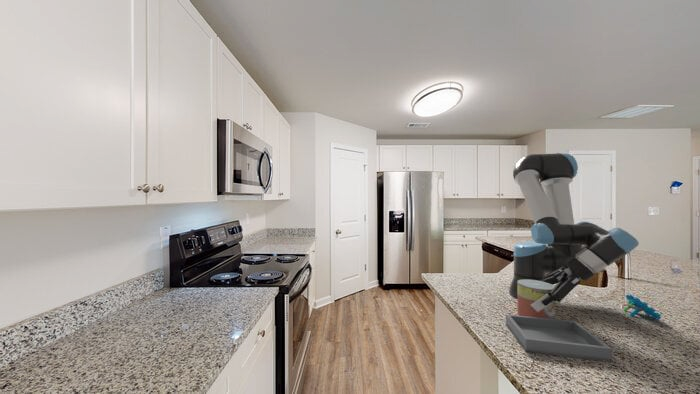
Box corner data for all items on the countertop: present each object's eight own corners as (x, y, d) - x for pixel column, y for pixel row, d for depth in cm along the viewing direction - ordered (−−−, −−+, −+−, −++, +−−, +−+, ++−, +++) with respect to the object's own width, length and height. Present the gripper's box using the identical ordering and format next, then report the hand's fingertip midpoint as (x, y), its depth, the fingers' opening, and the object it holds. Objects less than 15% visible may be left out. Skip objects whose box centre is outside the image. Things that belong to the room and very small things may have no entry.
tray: (505, 324, 89) (505, 314, 89) (575, 331, 84) (575, 321, 84) (525, 351, 73) (525, 339, 73) (612, 362, 68) (612, 348, 68)
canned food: (540, 327, 87) (540, 291, 87) (509, 313, 98) (509, 281, 98) (563, 321, 91) (563, 287, 91) (531, 308, 101) (531, 277, 102)
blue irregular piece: (670, 320, 89) (641, 296, 92) (656, 331, 89) (627, 307, 92) (645, 311, 99) (620, 290, 102) (632, 321, 100) (607, 300, 103)
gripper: (611, 284, 76) (547, 325, 83) (582, 265, 98) (533, 298, 105) (587, 264, 78) (527, 305, 85) (564, 249, 101) (518, 283, 107)
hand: (530, 301), depth 95 cm, fingers open, 13 cm apart
